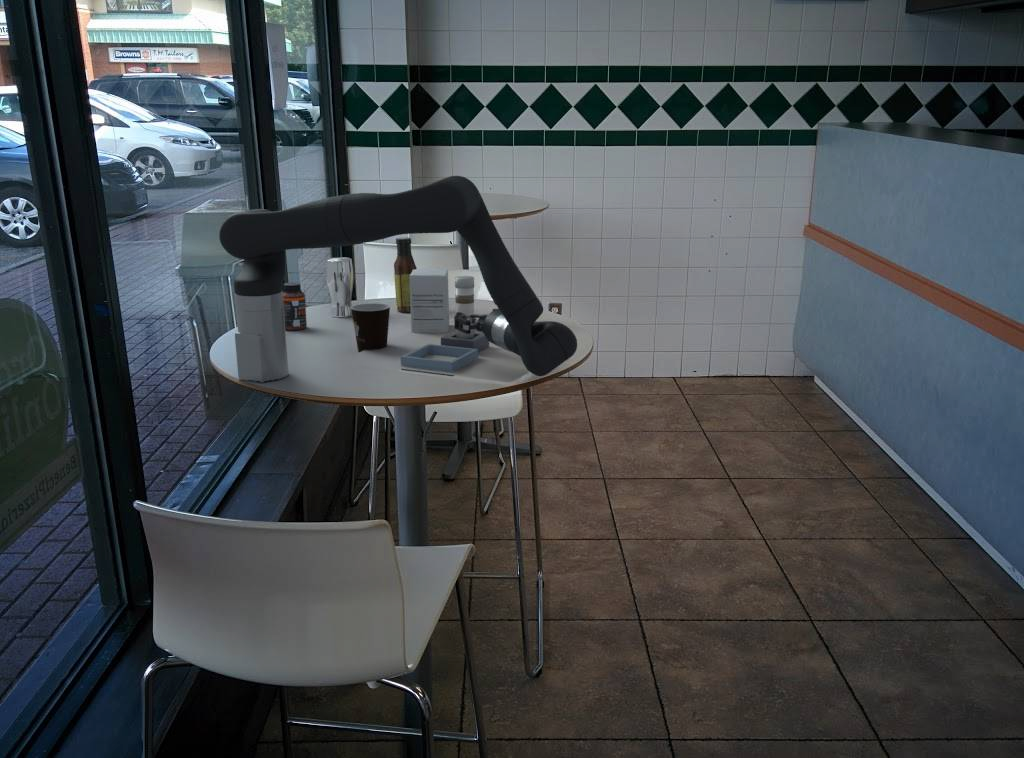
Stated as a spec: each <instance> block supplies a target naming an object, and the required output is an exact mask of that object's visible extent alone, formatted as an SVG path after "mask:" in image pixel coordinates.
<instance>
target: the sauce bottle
mask: <svg viewBox="0 0 1024 758" xmlns="http://www.w3.org/2000/svg"><path fill="white" fill-rule="evenodd" d="M395 244H396V250H397V252H396V253H397V256H396V259H395V261H394V262H393V270H394V271H393V272H394V274H393V275H394V276H393V277H394V289H395V302H396V303H395V304H396V309H397V312H399V313H406V312H408V313H411V306H410V274H411V273H412V271H413V270H415V269H418V268H417V265H416V263H415V260H414V257H413V254H412V245H411V244H412V238H411V237H409V236H408V237H407V236H406V237H402V236H401V237H396V238H395Z"/></svg>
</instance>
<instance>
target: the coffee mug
mask: <svg viewBox="0 0 1024 758" xmlns="http://www.w3.org/2000/svg"><path fill="white" fill-rule="evenodd" d="M390 311H391V306H390V305H389V304H385V303H378V302H377V303H376V302H375V303H372V302H370V303H360V304H359V303H358V304H354V305H352V307H351V312H352V316H351V317H352V322H353V329H354V335H355V341H356V347H357V351H358V353H361V352H363V351H375V350H376V351H377V350H382V349H385V348H387V347H388V337H389V336H388V334H389V326H390V325H389V324H390Z"/></svg>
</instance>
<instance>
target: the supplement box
mask: <svg viewBox="0 0 1024 758" xmlns="http://www.w3.org/2000/svg"><path fill="white" fill-rule="evenodd" d="M449 298H450V297H449V270H448V269H427V268H426V269H425V268H424V269H421V268H417V269H415V270H413V271H412V273H411V274H410V306H411V312H410V330H411V331H410V332H411V333H418V334H419V333H448V331H449V329H450V302H449V301H450V299H449Z"/></svg>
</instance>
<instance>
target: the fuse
mask: <svg viewBox="0 0 1024 758" xmlns="http://www.w3.org/2000/svg"><path fill="white" fill-rule="evenodd" d="M454 287H455V295H454V297H455V298H454V299H455V301H454V302H455V314H456V313H457V312H461V313H463V314H465V315H469V316H470V315H472V314H475V277H474V276H470V275H469V276H468V275H460V276H459V275H458V276H454ZM467 320H470V319H467ZM455 331H456V338H464V339H472V338H474V332H475V331H471V333H469V334H466V333H463V332H461V331H459V330H457V329H455Z"/></svg>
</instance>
